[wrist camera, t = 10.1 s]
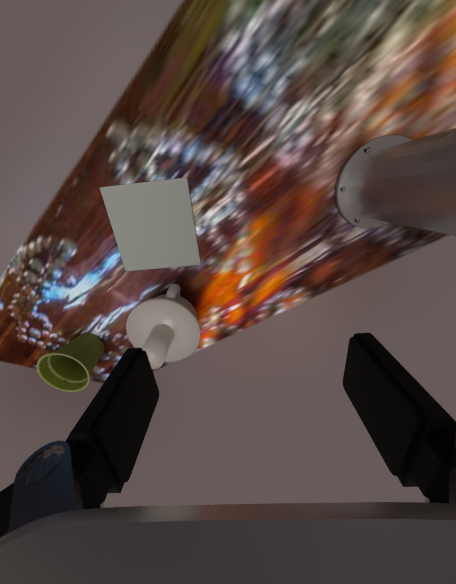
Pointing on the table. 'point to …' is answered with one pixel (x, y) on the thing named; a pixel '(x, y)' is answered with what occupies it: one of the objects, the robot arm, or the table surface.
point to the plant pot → (71, 363)
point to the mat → (153, 224)
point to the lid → (163, 330)
